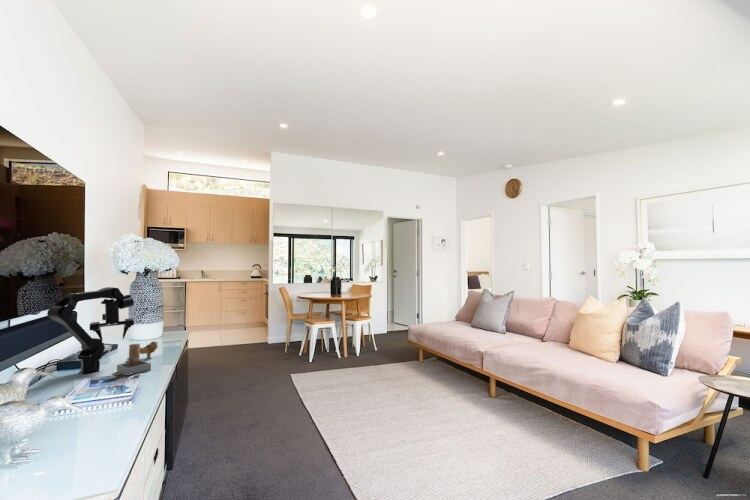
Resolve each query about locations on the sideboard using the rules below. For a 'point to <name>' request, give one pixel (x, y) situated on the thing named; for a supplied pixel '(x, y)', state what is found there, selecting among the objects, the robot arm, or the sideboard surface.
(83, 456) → the sideboard surface
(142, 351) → the lion figurine
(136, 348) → the walnut handle
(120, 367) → the box
